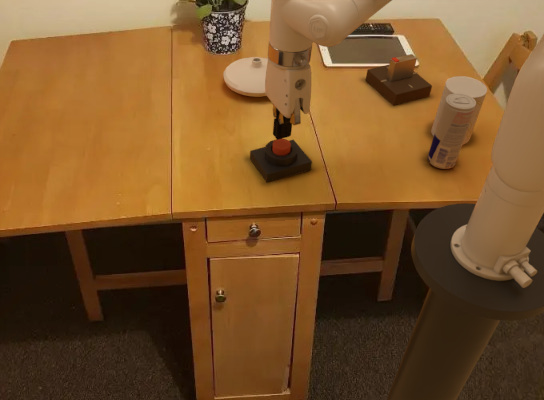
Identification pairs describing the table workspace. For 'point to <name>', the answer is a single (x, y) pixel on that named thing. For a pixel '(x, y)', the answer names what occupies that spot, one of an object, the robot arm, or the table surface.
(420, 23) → the table surface
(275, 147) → the release button
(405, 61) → the block
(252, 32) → the table surface
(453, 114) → the beverage can
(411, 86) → the plate
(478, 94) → the cup
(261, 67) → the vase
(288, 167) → the box
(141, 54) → the table surface
